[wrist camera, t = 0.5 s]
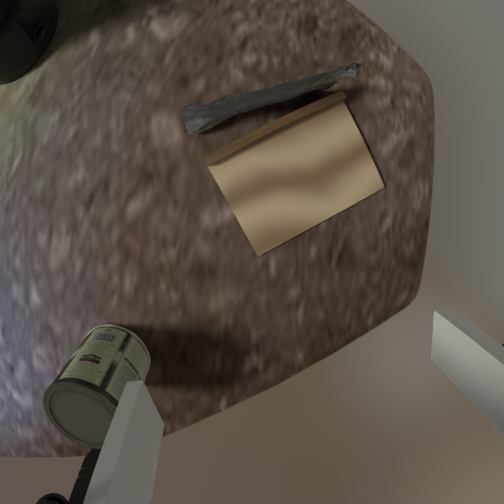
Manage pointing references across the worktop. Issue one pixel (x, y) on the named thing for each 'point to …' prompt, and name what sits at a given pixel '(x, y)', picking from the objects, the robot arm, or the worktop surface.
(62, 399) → the coffee can
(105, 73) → the worktop surface
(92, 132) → the worktop surface
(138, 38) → the worktop surface
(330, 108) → the board
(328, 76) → the stone slab
